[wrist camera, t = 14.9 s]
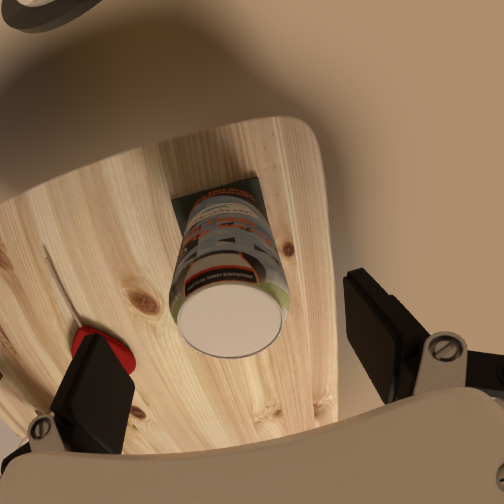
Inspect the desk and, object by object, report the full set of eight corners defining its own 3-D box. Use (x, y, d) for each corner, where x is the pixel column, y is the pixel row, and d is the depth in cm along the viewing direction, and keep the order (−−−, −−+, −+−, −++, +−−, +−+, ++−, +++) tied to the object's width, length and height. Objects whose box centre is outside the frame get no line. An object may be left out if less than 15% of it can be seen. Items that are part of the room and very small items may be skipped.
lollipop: (23, 266, 23) (87, 376, 28) (18, 269, 22) (85, 381, 28) (79, 244, 23) (143, 369, 28) (74, 247, 22) (142, 374, 28)
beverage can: (263, 181, 22) (305, 224, 11) (267, 267, 25) (302, 365, 14) (181, 188, 22) (142, 240, 11) (194, 274, 25) (178, 378, 13)
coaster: (171, 199, 22) (171, 200, 22) (257, 176, 22) (258, 177, 22) (197, 276, 25) (196, 278, 25) (275, 256, 25) (276, 258, 25)
